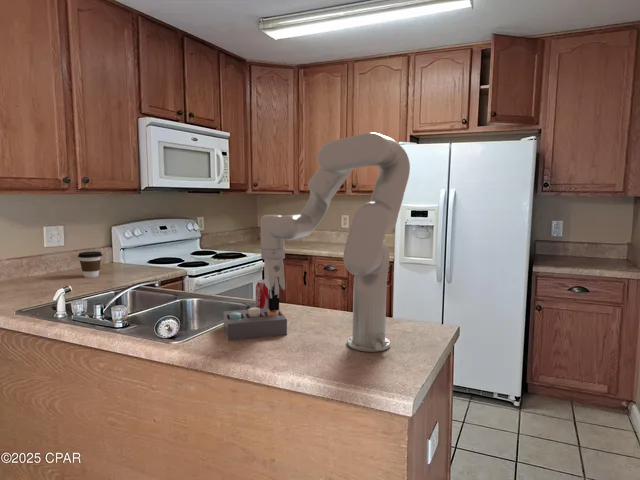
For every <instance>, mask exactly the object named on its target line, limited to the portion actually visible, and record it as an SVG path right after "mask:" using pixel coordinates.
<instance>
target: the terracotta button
mask: <svg viewBox="0 0 640 480" xmlns="http://www.w3.org/2000/svg"><path fill="white" fill-rule="evenodd" d="M267 316H278V310H275V311H270V310H268V311H267Z"/></svg>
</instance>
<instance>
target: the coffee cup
mask: <svg viewBox="0 0 640 480" xmlns="http://www.w3.org/2000/svg"><path fill="white" fill-rule="evenodd" d="M102 256H103V253H102V252H101V251H83V252H79V253H78V255H77V258H79V264H80V268H81V271H82V274H83V277H84V278H88V279H90V278H97V277H99V274H100V269H101V263H102V262H101V260H102V259H101V257H102Z"/></svg>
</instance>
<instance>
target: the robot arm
mask: <svg viewBox="0 0 640 480" xmlns="http://www.w3.org/2000/svg"><path fill="white" fill-rule="evenodd" d="M317 162H318V165H319V167H317V170H316V171H315V173H314V174H313V175H312V176H311V178H310V179H309V181H308V182H307V186H308V189H309V196H308V200H307V202H306V204H305V205H304V207H303V208H302V209H301V211H299V213H295V214H286V215H281V214H263V215H262V216H261V217H260V256H261V257H260V259H261V260H264V262H263V263H264V270H263V271H264V272H263V273H264V275H263V276H264V279H265V285H266V287H267V288H268V296H269V297H270V298H268V308H269V310H270V311H275V310H280V290H283V291H284V290H285V289H286V284H285V283H286V282H285V268H284V267H285V266H284V259H285V258H286V247H285V246H286V245H285V244H286V243H285V241H286V240H290V241H291V240H296V239H300V238H304V237H308V236H310V234H311V235H312V233H313V232H314V231H315V230H316V229H317V227H318V226H319V224H320V223H321V222H323V221H322V220H323V219H324V218H325V217H326V214H327V212H328V210H329V208H330V205H331V201H332V199H333V198H334V196H335V195H336V194H337V192H338V191H339V190H340V188H341V187H342V185H343V184H344V183H345V182H346V180H347V179H348V177H349V176H350V175H351V173H352V172H354V171H353V170H354V169H359V168H360V169H361V168H363V167H371V166H372V167H377V168H379V173H378V176H377V178H376V181H375V183H374V187H373V191H372V194H371V196H370V200H369V201H367V202H365V203H363V204H362V205H361V206H359V207H358V208H357V210H356V212H355V214H354V215H353V217H352V220H351V225H350V228H349V232H348V235H347V238H346V242H345V246H344V251H343V263H344V267H345V268H346V270H347V271H348V272H349V273H350V274H351V275H354V276H353V292H352V335H350V336H349V337H347V339H346V344H347V346H348V347H349V348H350V349H353V350H356V351H358V352H359V351H361V352H365V353H366V352H367V353H376V352H383V351H386V350H388V349H389V348H390V347H391V340H390V339H389V338H387V337H386V323H387V321H386V319H387V317H386V316H387V315H386V314H387V291H388V274H389V273H388V272H389V266H390V251H389V246H388V245H387V244H386V242H385V241H384V240H385V235H386V234H387V235H388V234H389V233H391V232H392V231H393V230H394V229H395V227H396V225H397V222H398V217H399V213H400V210H401V207H402V203H403V200H404V197H405V196H404V195H405V191H406V189H407V184H408V182H409V177H410V169H411V163H410V159H409V155H408V154H407V152H406V150H405V149H404V148H403V147H402V145H401V144H400V143H399V142H397V141H396V140H395V139H393V138H392V137H390V136H386V135H383V134H381V133H377V132H365V133H361V134H356V135H351V136H348V137H344V138H338V139H334V140H331V141H329V142H326V143H324V144H323V145H322V146H321V148H320V149H319V150H318V154H317Z"/></svg>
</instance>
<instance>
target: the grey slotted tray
mask: <svg viewBox="0 0 640 480" xmlns="http://www.w3.org/2000/svg"><path fill="white" fill-rule="evenodd" d="M268 310H269V308H263V309H260V317H255V318H249V309H238V310H225V311H224V310H223V311H222V312H223V328H224V332H225V334H226V338H227V340H228V341H235V340H246V339H259V338H270V337H277V336H287V335H288V319H287V318H286V316H285V314H284V313H282V311H281V310H280V309H279V310H278V316H267V311H268ZM232 312H240V313H241V319H229V314H230V313H232Z"/></svg>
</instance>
